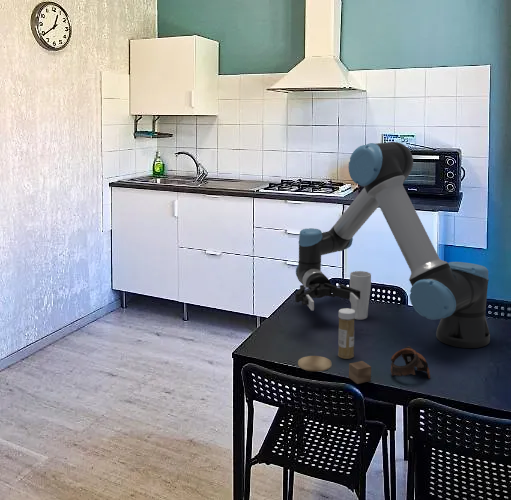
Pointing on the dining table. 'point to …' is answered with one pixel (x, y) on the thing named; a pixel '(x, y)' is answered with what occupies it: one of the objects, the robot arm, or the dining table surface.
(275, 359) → the dining table surface
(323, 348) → the dining table surface
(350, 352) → the sprinkles bottle
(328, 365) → the cork coaster
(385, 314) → the dining table surface
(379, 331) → the dining table surface
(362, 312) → the drinking glass
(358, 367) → the walnut block
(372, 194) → the robot arm
